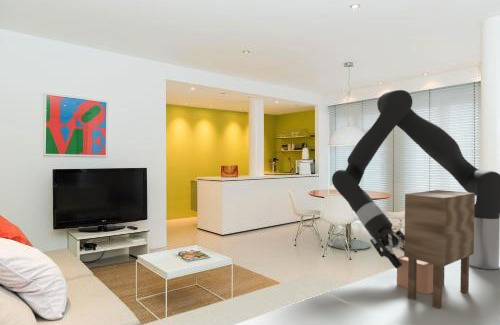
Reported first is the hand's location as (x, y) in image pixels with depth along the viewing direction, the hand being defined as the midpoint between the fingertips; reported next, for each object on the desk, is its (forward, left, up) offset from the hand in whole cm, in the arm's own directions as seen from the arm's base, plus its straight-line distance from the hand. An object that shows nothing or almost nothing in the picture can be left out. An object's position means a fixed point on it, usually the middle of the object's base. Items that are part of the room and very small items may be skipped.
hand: (407, 264), depth 99 cm
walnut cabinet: (0, +9, -6) cm, 11 cm away
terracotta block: (0, +3, -6) cm, 7 cm away
